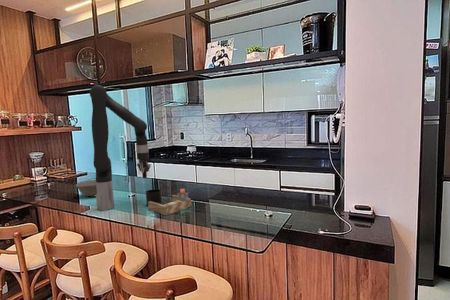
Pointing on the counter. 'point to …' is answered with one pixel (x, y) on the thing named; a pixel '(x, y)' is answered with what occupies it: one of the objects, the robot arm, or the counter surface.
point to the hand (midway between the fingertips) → (144, 178)
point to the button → (182, 191)
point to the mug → (154, 196)
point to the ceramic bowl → (87, 187)
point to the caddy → (171, 204)
